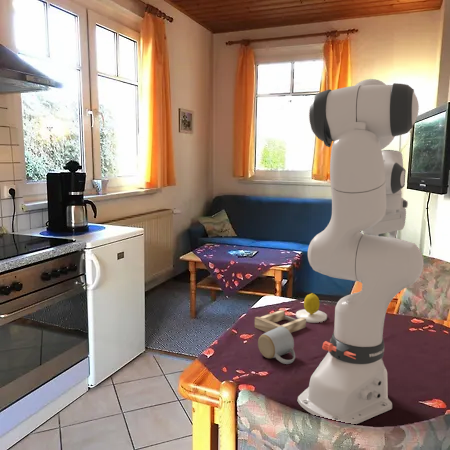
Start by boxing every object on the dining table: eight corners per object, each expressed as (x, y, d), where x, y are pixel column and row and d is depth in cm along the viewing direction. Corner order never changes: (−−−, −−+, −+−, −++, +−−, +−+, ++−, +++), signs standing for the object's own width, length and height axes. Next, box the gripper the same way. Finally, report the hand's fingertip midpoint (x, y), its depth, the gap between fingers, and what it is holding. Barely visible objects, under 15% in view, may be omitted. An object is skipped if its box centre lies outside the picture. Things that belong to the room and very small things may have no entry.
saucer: (314, 325, 145) (314, 322, 145) (289, 316, 153) (289, 313, 153) (333, 317, 152) (333, 315, 152) (308, 309, 160) (308, 307, 160)
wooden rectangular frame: (279, 337, 135) (279, 327, 134) (254, 327, 143) (254, 317, 142) (307, 326, 144) (307, 316, 144) (282, 317, 152) (282, 308, 152)
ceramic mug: (255, 354, 123) (256, 329, 122) (275, 346, 128) (276, 322, 127) (281, 368, 115) (282, 342, 114) (302, 360, 120) (303, 334, 119)
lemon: (320, 317, 150) (321, 295, 149) (304, 317, 150) (305, 295, 149) (317, 311, 155) (318, 290, 154) (302, 311, 155) (303, 290, 154)
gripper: (378, 205, 123) (375, 252, 126) (410, 201, 137) (407, 243, 139) (358, 204, 128) (356, 248, 130) (392, 200, 142) (389, 241, 144)
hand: (382, 246), depth 135 cm, fingers open, 8 cm apart
